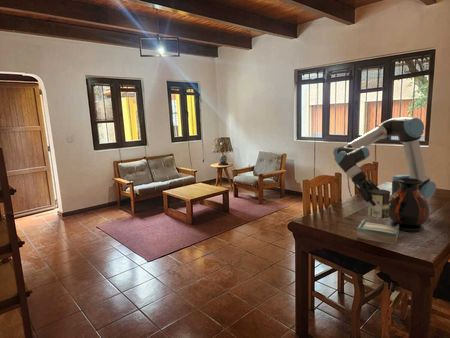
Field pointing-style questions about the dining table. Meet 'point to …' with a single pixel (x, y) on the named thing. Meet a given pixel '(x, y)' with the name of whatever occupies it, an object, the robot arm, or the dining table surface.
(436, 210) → the dining table surface
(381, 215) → the coffee can
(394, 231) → the clear glass tray
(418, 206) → the amphora vase
